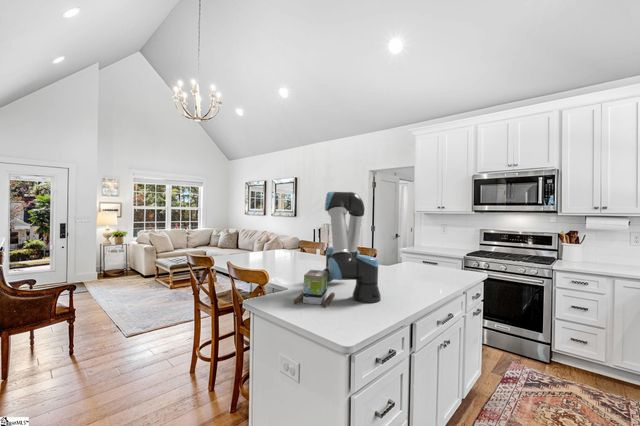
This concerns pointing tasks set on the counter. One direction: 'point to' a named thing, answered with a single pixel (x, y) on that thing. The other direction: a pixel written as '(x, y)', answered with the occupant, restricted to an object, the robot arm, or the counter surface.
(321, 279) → the tea box
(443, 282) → the counter surface
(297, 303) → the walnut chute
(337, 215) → the robot arm
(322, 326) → the counter surface
